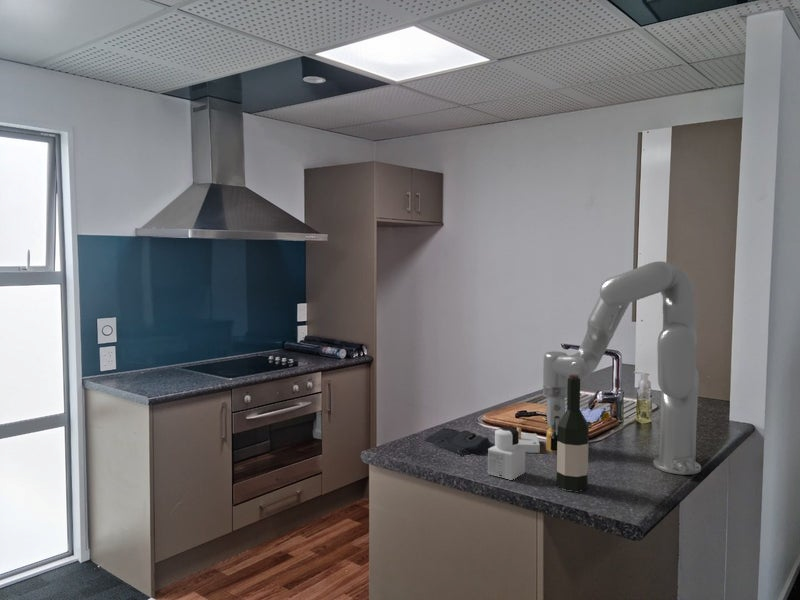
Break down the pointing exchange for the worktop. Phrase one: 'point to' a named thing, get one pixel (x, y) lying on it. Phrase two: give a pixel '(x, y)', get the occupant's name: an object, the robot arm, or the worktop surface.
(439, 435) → the black folded cloth
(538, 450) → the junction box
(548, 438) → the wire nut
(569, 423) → the wine bottle
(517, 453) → the container
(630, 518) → the worktop surface
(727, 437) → the worktop surface
